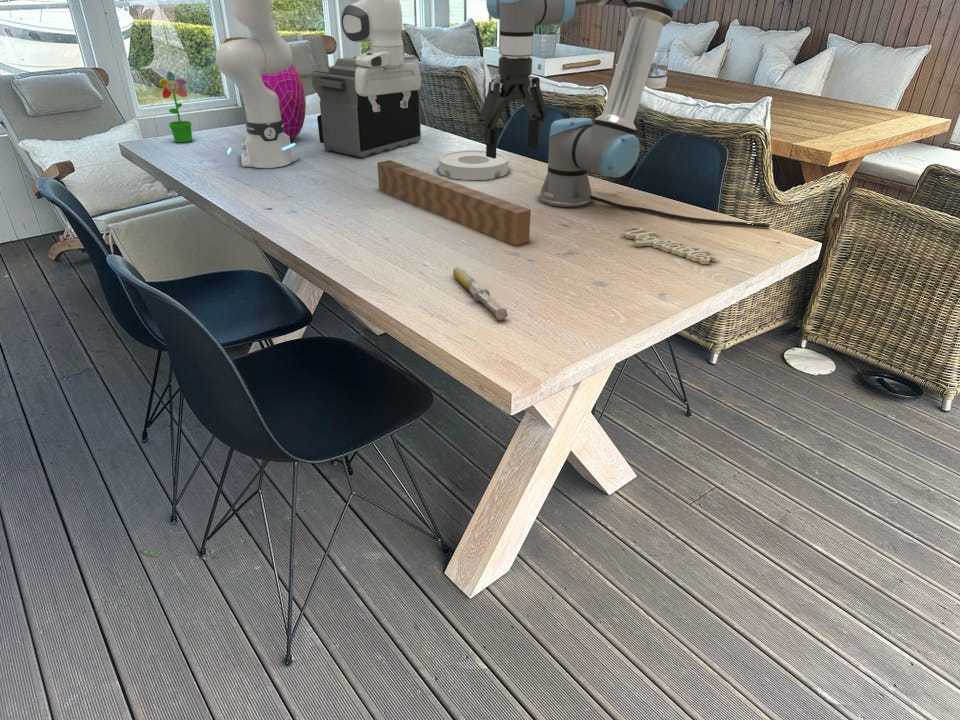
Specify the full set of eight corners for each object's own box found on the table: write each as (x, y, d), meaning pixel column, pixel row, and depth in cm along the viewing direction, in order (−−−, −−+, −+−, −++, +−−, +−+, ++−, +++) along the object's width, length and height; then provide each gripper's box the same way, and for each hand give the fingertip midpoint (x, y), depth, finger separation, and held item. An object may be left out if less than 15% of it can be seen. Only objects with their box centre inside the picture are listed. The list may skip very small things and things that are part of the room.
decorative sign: (611, 234, 176) (635, 225, 181) (610, 237, 176) (634, 229, 182) (700, 264, 159) (723, 254, 164) (699, 268, 159) (723, 257, 165)
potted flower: (172, 144, 257) (157, 72, 244) (170, 139, 263) (155, 69, 250) (199, 141, 260) (185, 71, 248) (196, 137, 266) (182, 68, 254)
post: (529, 242, 173) (530, 209, 169) (516, 246, 171) (517, 213, 166) (391, 187, 212) (389, 160, 208) (379, 190, 210) (377, 162, 206)
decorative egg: (293, 132, 276) (283, 50, 261) (319, 140, 264) (310, 56, 249) (249, 139, 265) (236, 54, 250) (273, 148, 253) (261, 60, 238)
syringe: (449, 274, 155) (449, 263, 153) (465, 272, 156) (464, 260, 154) (490, 323, 135) (491, 310, 133) (508, 319, 136) (508, 307, 134)
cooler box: (383, 133, 276) (378, 52, 261) (425, 141, 265) (422, 56, 250) (314, 150, 251) (304, 61, 235) (358, 160, 240) (350, 67, 224)
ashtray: (441, 160, 240) (441, 149, 238) (507, 162, 240) (508, 150, 237) (436, 179, 220) (435, 167, 218) (508, 180, 220) (508, 168, 218)
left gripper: (411, 53, 197) (413, 103, 204) (350, 58, 185) (354, 112, 192) (424, 55, 192) (426, 107, 199) (362, 61, 181) (366, 115, 188)
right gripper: (542, 50, 163) (538, 142, 173) (461, 58, 148) (462, 157, 159) (566, 53, 158) (559, 147, 169) (484, 62, 144) (483, 164, 154)
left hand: (390, 109), depth 196 cm, fingers open, 8 cm apart
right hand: (512, 152), depth 164 cm, fingers open, 13 cm apart
